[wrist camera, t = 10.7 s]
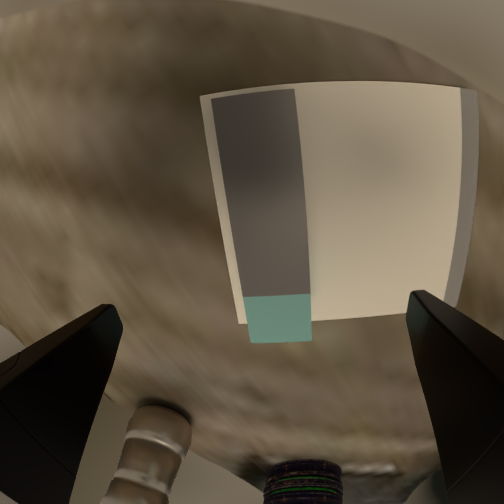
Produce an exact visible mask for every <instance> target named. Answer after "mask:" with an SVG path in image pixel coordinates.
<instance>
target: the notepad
mask: <svg viewBox="0 0 504 504" xmlns="http://www.w3.org/2000/svg"><path fill="white" fill-rule="evenodd" d="M282 89H294V91H295V99H296V107H297V116H298V125H299V134H300V144H301V155H302V165H303V177H304V189H305V202H306V216H307V231H308V248H309V268H310V292H311V321H317V320H332V319H346V318H358V317H370V316H380V315H390V314H400V313H406V312H407V306H408V300H409V295H410V292H411V291H413V290H422V289H423V290H426V291H427V292H429V293H431V294H432V295H434V296H436V297H437V298H439V299H440V300H442V301H444V302H445V303H447V304H449V305H450V306H452V307H456V305H457V301H458V297H459V293H460V289H461V285H462V280H463V276H464V271H465V266H466V261H467V256H468V251H469V245H470V239H471V232H472V225H473V218H474V210H475V200H476V190H477V176H478V156H479V114H478V94H477V90H472V89H465V88H458V87H450V86H441V85H432V84H420V83H406V82H385V81H330V82H308V83H294V84H282V85H271V86H262V87H254V88H246V89H239V90H232V91H225V92H219V93H213V94H207V95H202V96H200V103H201V110H202V116H203V123H204V129H205V135H206V142H207V148H208V154H209V160H210V166H211V172H212V178H213V184H214V190H215V196H216V202H217V208H218V213H219V219H220V225H221V231H222V236H223V242H224V247H225V253H226V258H227V264H228V269H229V274H230V280H231V285H232V290H233V296H234V301H235V306H236V311H237V316H238V321H239V324H247V319H246V313H245V307H244V301H243V296H242V290H241V284H240V278H239V273H238V267H237V261H236V255H235V249H234V243H233V237H232V231H231V225H230V219H229V213H228V207H227V201H226V194H225V188H224V182H223V176H222V169H221V163H220V157H219V150H218V144H217V137H216V131H215V124H214V118H213V111H212V104H211V99H213V98H219V97H225V96H232V95H239V94H246V93H254V92H262V91H272V90H282Z"/></svg>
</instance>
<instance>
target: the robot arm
mask: <svg viewBox="0 0 504 504" xmlns="http://www.w3.org/2000/svg"><path fill="white" fill-rule="evenodd" d="M406 323H407V327H408V332H409V336H410V341H411V346H412V351H413V356H414V361H415V365H416V369H417V372H418V376H419V379H420V382H421V386H422V389H423V393H424V396H425V400H426V403H427V407H428V411H429V414H430V418H431V422H432V426H433V430H434V434H435V438H436V443H437V447H438V452H439V456H440V461H441V466H442V471H443V476H444V482H445V487H446V492H448V493H447V494H446V495H447V501H448V504H504V340H503V339H501V338H500V337H498V336H497V335H495V334H494V333H492V332H491V331H489V330H488V329H486V328H484V327H483V326H481V325H480V324H478V323H477V322H475V321H474V320H472V319H471V318H469V317H468V316H466V315H464V314H463V313H461V312H460V311H458V310H456V309H455V308H453V307H452V306H450V305H449V304H447V303H445V302H444V301H442V300H440V299H439V298H437V297H436V296H434V295H432V294H431V293H429V292H427V291H426V290H423V289H422V290H413V291H411V292H410V295H409V300H408V306H407V312H406ZM122 332H123V325H122V322H121V320H120V317H119V315H118V312H117V310H116V308H115V306H114V305H112V304H101V305H99V306H98V307H96V308H94V309H92V310H91V311H89V312H87V313H85V314H84V315H82V316H80V317H78V318H77V319H75V320H73V321H71V322H70V323H68V324H66V325H64V326H63V327H61V328H59V329H58V330H56V331H54V332H52V333H51V334H49V335H47V336H46V337H44V338H42V339H40V340H39V341H37V342H35V343H34V344H32V345H30V346H29V347H27V348H25V349H24V350H22V351H21V352H18V353H17V354H15V355H13V356H12V357H10V358H8V359H7V360H5V361H3V362H1V363H0V504H69V500H70V497H71V493H72V489H73V486H74V482H75V479H76V475H77V471H78V468H79V464H80V461H81V457H82V455H83V451H84V448H85V445H86V442H87V439H88V435H89V433H90V429H91V426H92V423H93V421H94V418H95V414H96V412H97V409H98V406H99V403H100V400H101V398H102V395H103V392H104V390H105V387H106V384H107V381H108V379H109V376H110V373H111V370H112V367H113V364H114V360H115V357H116V353H117V350H118V346H119V343H120V339H121V336H122Z"/></svg>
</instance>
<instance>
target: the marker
mask: <svg viewBox="0 0 504 504" xmlns="http://www.w3.org/2000/svg"><path fill="white" fill-rule="evenodd" d="M211 104H212V111H213V118H214V124H215V131H216V137H217V144H218V150H219V157H220V163H221V169H222V176H223V182H224V188H225V194H226V201H227V207H228V213H229V219H230V225H231V231H232V237H233V243H234V249H235V255H236V261H237V267H238V273H239V278H240V284H241V290H242V296H243V301H244V307H245V313H246V319H247V324H248V330H249V335H250V341H251V343H277V342H301V341H312V325H311V292H310V268H309V248H308V231H307V216H306V202H305V189H304V177H303V165H302V155H301V144H300V134H299V125H298V116H297V107H296V99H295V91H294V89H282V90H272V91H262V92H254V93H246V94H239V95H232V96H225V97H219V98H213V99H211Z"/></svg>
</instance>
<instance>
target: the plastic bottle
mask: <svg viewBox="0 0 504 504" xmlns="http://www.w3.org/2000/svg"><path fill="white" fill-rule="evenodd" d="M191 438H192V430H191V427H190V425H189V423H188V421H187V420H186V418H184V417H183V416H182V415H181V414H179V413H178V412H176V411H174V410H171V409H169V408H166V407H163V406H158V405H146V406H143V407H141V408H139V409H138V410H136V411H135V413H134V414H133V416H132V417H131V418H130V420H129V422H128V425H127V429H126V433H125V443H124V446H123V449H122V452H121V456H120V459H119V463H118V466H117V470H116V472H115V474H114V476H113V477H114V478H113V480H112V481H111V483H110V485H109V487H108V489H107V492H106V494H105V495H104V497H103V499H102V500H101V502H100V504H169V500H168V499H169V497H170V493H171V489H172V486H173V483H174V481H175V478H176V476H177V473H178V470H179V468H180V465H181V462H182V461H183V460H184V458H185V456H186V454H187V452H188V450H189V447H190V445H191Z"/></svg>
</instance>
